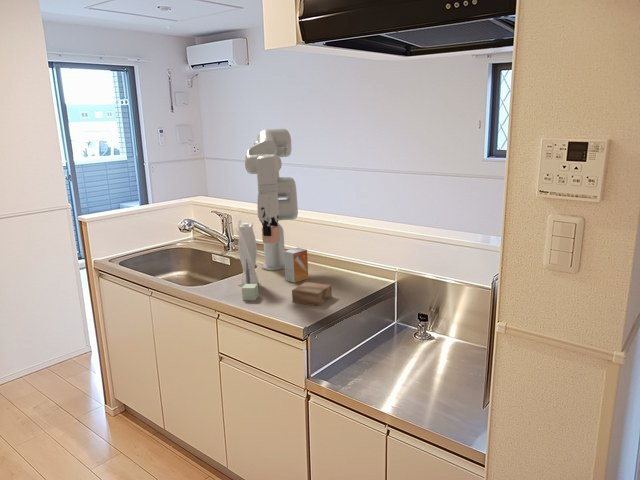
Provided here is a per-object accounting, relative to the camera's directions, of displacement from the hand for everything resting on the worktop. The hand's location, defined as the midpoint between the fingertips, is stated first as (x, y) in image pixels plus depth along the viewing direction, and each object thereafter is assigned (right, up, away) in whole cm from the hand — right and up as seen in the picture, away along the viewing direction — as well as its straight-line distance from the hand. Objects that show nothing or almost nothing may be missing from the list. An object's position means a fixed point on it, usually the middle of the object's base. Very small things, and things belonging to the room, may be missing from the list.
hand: (270, 233), depth 199 cm
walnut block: (+16, -25, -7) cm, 31 cm away
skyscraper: (-10, -22, +15) cm, 28 cm away
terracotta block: (0, -3, +1) cm, 3 cm away
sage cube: (-8, -25, -2) cm, 26 cm away
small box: (+9, -20, +18) cm, 28 cm away
